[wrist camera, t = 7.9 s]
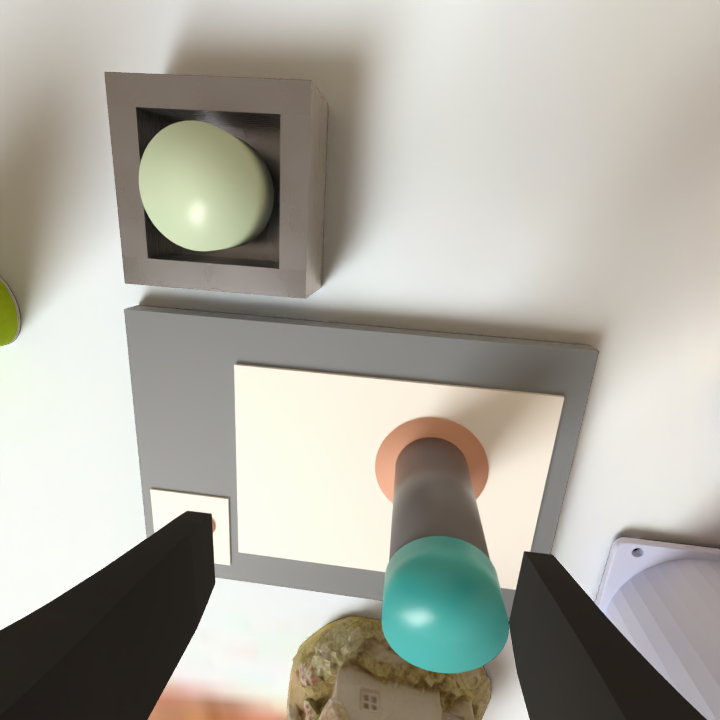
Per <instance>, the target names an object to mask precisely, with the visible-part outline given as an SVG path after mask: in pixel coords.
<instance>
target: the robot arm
mask: <svg viewBox="0 0 720 720" xmlns="http://www.w3.org/2000/svg"><path fill="white" fill-rule="evenodd" d="M635 548H639V549H638V550H636V551H633V550H634V549H635ZM214 585H215V567H214V547H213V528H212V514H211V513H203V512H195V511H186V512H184V513H183V514H181V515H180V516H178V517H177V518H175V519H174V520H172V521H171V522H169V523H168V524H167V525H165V526H164V527H162V528H161V529H159V530H158V531H157V532H155V533H154V534H152V535H151V536H150V537H148V538H147V539H145V540H144V541H142V542H141V543H140V544H138V545H137V546H135V547H134V548H132V549H131V550H129V551H128V552H126V553H125V554H124V555H122V556H121V557H119V558H118V559H116V560H115V561H113V562H112V563H110V564H109V565H108V566H106V567H105V568H103V569H102V570H100V571H98V572H97V573H95V574H94V575H92V576H91V577H89V578H87V579H86V580H84V581H83V582H81V583H80V584H78V585H76V586H75V587H73V588H72V589H70V590H69V591H67V592H65V593H64V594H62V595H61V596H59V597H58V598H56V599H54V600H53V601H51V602H49V603H48V604H46V605H44V606H43V607H41V608H39V609H38V610H36V611H34V612H33V613H31V614H29V615H27V616H26V617H24V618H22V619H20V620H18V621H17V622H15V623H13V624H11V625H9V626H8V627H6V628H4V629H2V630H0V720H147V719H148V718H149V716H150V714H151V712H152V710H153V708H154V707H155V705H156V703H157V701H158V699H159V697H160V696H161V694H162V692H163V690H164V688H165V686H166V685H167V683H168V681H169V679H170V677H171V675H172V674H173V672H174V670H175V668H176V666H177V664H178V663H179V661H180V659H181V657H182V655H183V653H184V651H185V650H186V648H187V646H188V644H189V642H190V640H191V638H192V636H193V635H194V633H195V631H196V629H197V627H198V624H199V622H200V620H201V617H202V615H203V613H204V610H205V608H206V605H207V603H208V600H209V598H210V595H211V593H212V590H213V588H214ZM509 626H510V632H511V639H512V645H513V651H514V657H515V663H516V669H517V674H518V678H519V681H520V685H521V689H522V693H523V696H524V700H525V704H526V707H527V711H528V715H529V718H530V720H720V549H717V548H709V547H701V546H693V545H684V544H676V543H668V542H660V541H652V540H644V539H636V538H628V537H621V538H618V539H616V540H615V541H614V542H613V544H612V547H611V550H610V554H609V557H608V561H607V564H606V568H605V571H604V574H603V578H602V581H601V585H600V588H599V592H598V595H597V599H596V602H595V603H594V602H593V601H592V599H591V598H590V597H589V596H588V595H587V594H586V593H585V591H584V590H583V589H582V588H581V587H580V586H579V585H578V583H577V582H576V581H575V580H574V579H573V578H572V576H571V575H570V574H569V573H568V572H567V571H566V569H565V568H564V567H563V566H562V565H561V564H560V563H559V561H558V560H557V559H556V558H555V557H554V556H553V555H552V554H544V553H536V552H528V551H524V553H523V558H522V563H521V568H520V572H519V577H518V582H517V586H516V591H515V596H514V600H513V605H512V610H511V614H510V619H509Z"/></svg>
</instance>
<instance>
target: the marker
mask: <svg viewBox="0 0 720 720" xmlns="http://www.w3.org/2000/svg"><path fill="white" fill-rule="evenodd" d="M381 623H382V630H383V633H384V636H385V638H386V640H387V642H388V643H389V645H390V646H391V648H392V649H393V650H394V651H395V652H396V653H397V654H398V655H399V656H400V657H402V658H403V659H404V660H406V661H407V662H409V663H411V664H413V665H415V666H417V667H419V668H422V669H425V670H428V671H433V672H438V673H461V672H466V671H470V670H474V669H476V668H479V667H481V666H483V665H485V664H487V663H488V662H490V661H491V660H492V659H494V658H495V657H496V656H497V655H498V654H499V653H500V651H501V650H502V649H503V647H504V645H505V643H506V641H507V638H508V633H509V622H508V617H507V613H506V609H505V605H504V600H503V596H502V592H501V588H500V584H499V580H498V576H497V572H496V570H495V567H494V566H493V564H492V562H491V561H490V557H489V553H488V549H487V545H486V540H485V536H484V532H483V528H482V523H481V519H480V515H479V511H478V506H477V502H476V498H475V494H474V490H473V485H472V481H471V477H470V473H469V468H468V464H467V461H466V458H465V456H464V454H463V453H462V451H461V450H460V449H459V448H458V447H457V446H455V445H454V444H453V443H451V442H449V441H447V440H444V439H441V438H435V437H427V438H421V439H418V440H415V441H413V442H411V443H410V444H408V445H407V446H406V447H404V449H403V450H402V451H401V452H400V454H399V456H398V458H397V460H396V465H395V479H394V494H393V509H392V524H391V539H390V554H389V563H388V565H387V568H386V572H385V579H384V592H383V606H382V622H381Z"/></svg>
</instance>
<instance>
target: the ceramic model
mask: <svg viewBox="0 0 720 720" xmlns="http://www.w3.org/2000/svg"><path fill="white" fill-rule="evenodd" d="M381 622H382V621H380V620H376V619H371V618H365V617H357V616H350V617H346V618H343V619H339V620H336V621H334V622H331V623H328V624H327V625H325V626H323V627H322V628H321V629H319V630H318V631H317V632H316V633H315V634H313V635H312V636H311V637H310V638H309V639H307V640H306V641H305V642H304V643H303V644H302V645H301V646H300V648H299V649H298V652H297V654H296V656H295V657H294V658H293V665H292V669H291V674H290V682H289V691H288V701H287V713H288V715H287V720H481V719H482V717H483V715H484V712H485V710H486V708H487V705H488V703H489V700H490V698H491V693H490V691H491V685H490V679H489V678H488V677H487V675H486V671H485V669H484V667H483V666H481V667H479V668H476V669H474V670H470V671H466V672H461V673H438V672H433V671H428V670H425V669H422V668H419V667H417V666H415V665H413V664H411V663H409V662H407V661H406V660H404V659H403V658H402V657H400V656H399V655H398V654H397V653H396V652H395V651H394V650H393V649H392V648H391V646H390V645H389V643H388V642H387V640H386V638H385V636H384V633H383V630H382V623H381Z"/></svg>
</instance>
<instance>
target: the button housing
mask: <svg viewBox="0 0 720 720" xmlns="http://www.w3.org/2000/svg"><path fill="white" fill-rule="evenodd" d="M105 83H106V93H107V103H108V113H109V124H110V134H111V144H112V155H113V165H114V175H115V186H116V196H117V206H118V217H119V227H120V237H121V248H122V258H123V268H124V279H125V283H126V284H138V285H150V286H162V287H174V288H186V289H198V290H210V291H222V292H233V293H245V294H257V295H269V296H281V297H293V298H305V299H306V298H307V297H308V296H310V295H311V294H313V293H314V292H316V291H317V290H318V289H320V288H321V281H322V255H323V229H324V202H325V176H326V150H327V124H328V104H327V102H326V101H325V99H324V98H323V96H322V95H321V94H320V92H319V91H318V89H317V88H316V86H315V85H314V83H313V82H312V80H290V79H266V78H242V77H218V76H193V75H169V74H145V73H121V72H105ZM182 121H202V122H205V123H209V124H211V125H214V126H216V127H218V128H220V129H222V130H224V131H226V132H228V133H230V134H232V135H234V136H236V137H238V138H240V139H242V140H243V141H245V142H247V143H248V144H249V145H250V146H252V147H253V148H254V149H255V150H256V151H257V152H258V153H259V155H260V156H261V157H262V159H263V160H264V162H265V163H266V165H267V167H268V169H269V172H270V174H271V178H272V181H273V187H274V205H273V210H272V214H271V217H270V219H269V221H268V223H267V225H266V227H265V228H264V230H263V231H262V232H261V233H260V234H259V235H258V236H257V237H256V238H255V239H254V240H252V241H251V242H249V243H247V244H245V245H243V246H239V247H235V248H228V249H220V250H213V251H195V250H190V249H187V248H184V247H181V246H179V245H177V244H175V243H174V242H172V241H170V240H169V239H168V238H166V237H165V236H164V235H163V234H162V233H161V232H160V231H159V230H158V229H157V228H156V226H155V225H154V224H153V222H152V221H151V219H150V218H149V216H148V214H147V212H146V210H145V208H144V205H143V203H142V199H141V195H140V190H139V168H140V163H141V159H142V157H143V154H144V151H145V149H146V148H147V146H148V144H149V143H150V141H151V140H152V139H153V138H154V137H155V135H156V134H157V133H159V132H160V131H161V130H163V129H164V128H166V127H167V126H169V125H171V124H174V123H177V122H182Z"/></svg>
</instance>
